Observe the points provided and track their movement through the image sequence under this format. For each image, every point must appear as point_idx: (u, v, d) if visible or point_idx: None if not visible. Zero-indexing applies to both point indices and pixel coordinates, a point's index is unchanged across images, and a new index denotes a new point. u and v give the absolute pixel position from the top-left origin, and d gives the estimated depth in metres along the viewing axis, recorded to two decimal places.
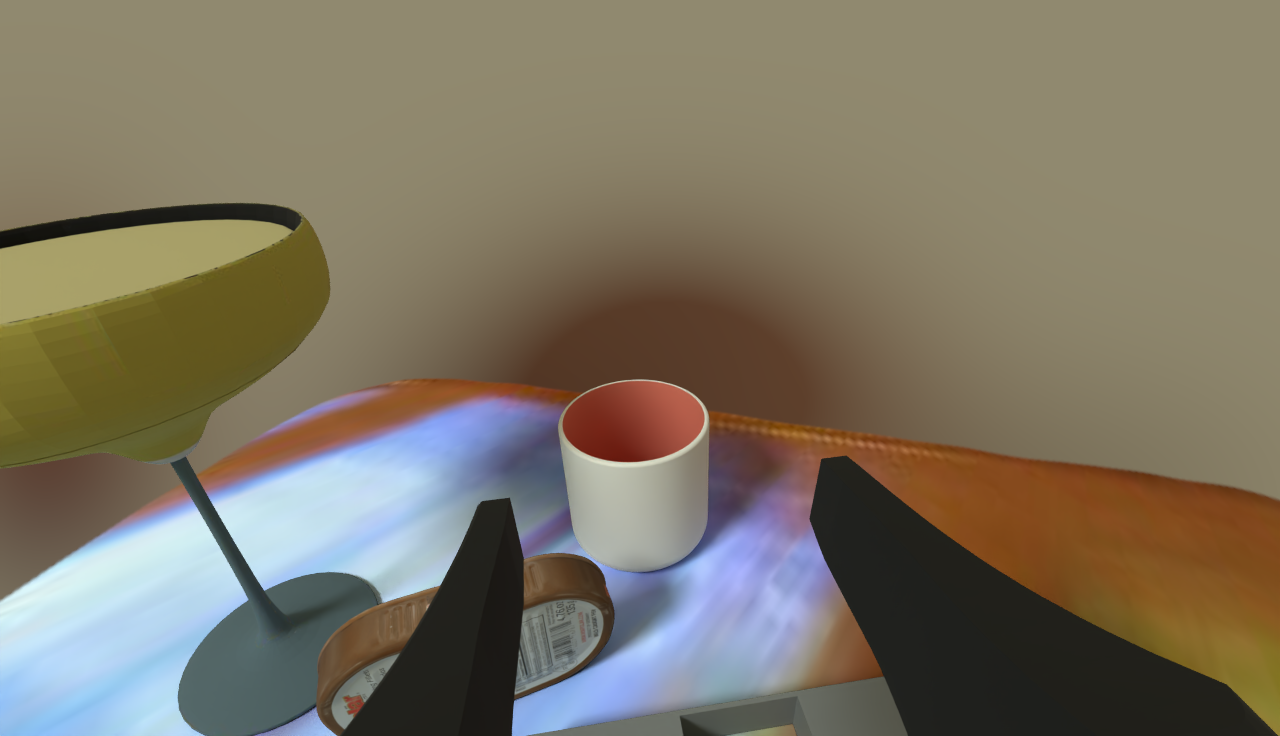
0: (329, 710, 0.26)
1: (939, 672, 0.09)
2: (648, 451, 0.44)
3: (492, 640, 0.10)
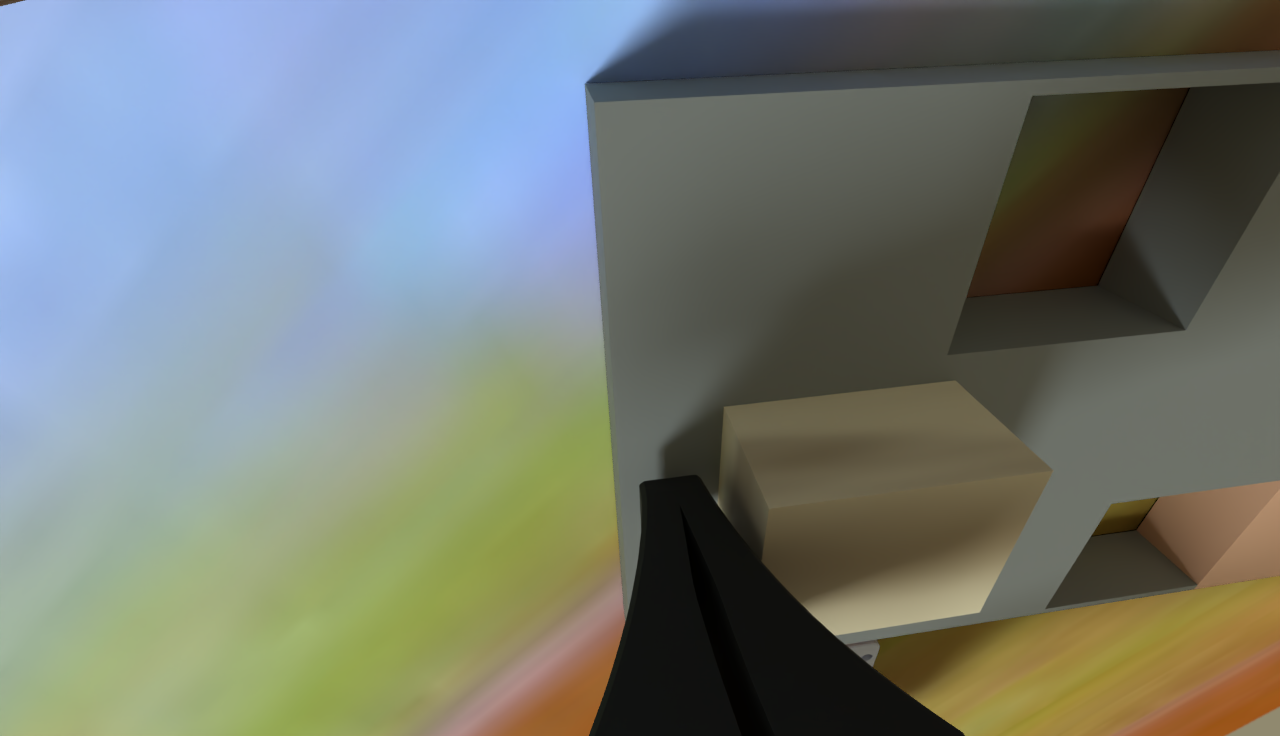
0: None
1: (734, 707, 0.09)
2: None
3: None
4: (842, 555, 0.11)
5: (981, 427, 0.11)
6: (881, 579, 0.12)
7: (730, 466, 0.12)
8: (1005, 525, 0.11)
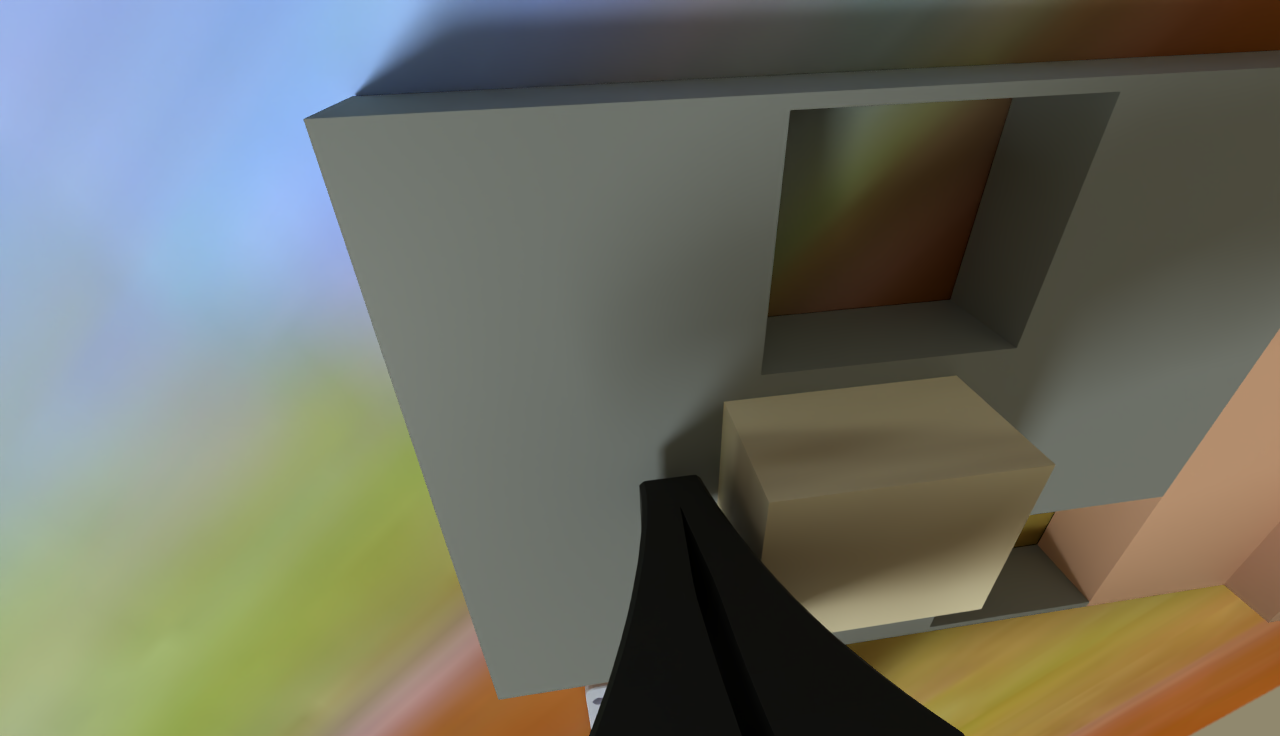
0: None
1: (734, 707, 0.09)
2: None
3: None
4: (843, 550, 0.11)
5: (982, 422, 0.11)
6: (881, 575, 0.11)
7: (730, 461, 0.12)
8: (1007, 520, 0.11)
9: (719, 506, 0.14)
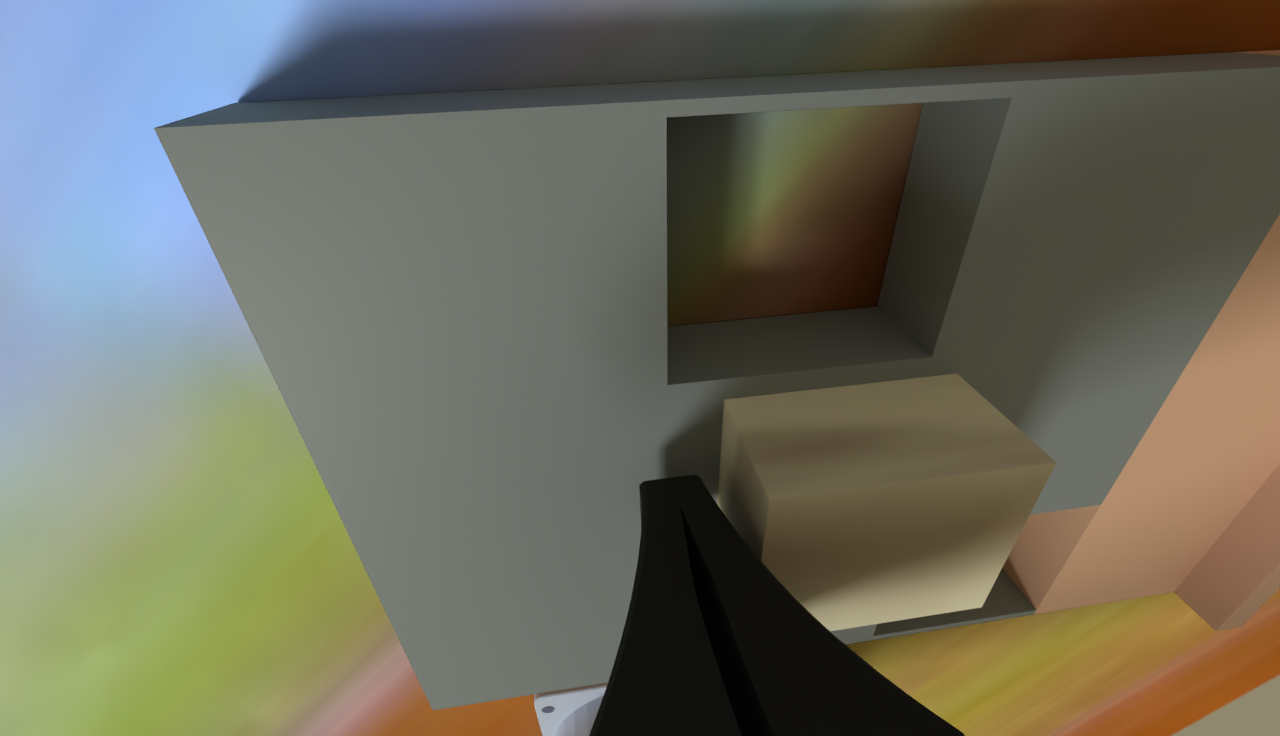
0: None
1: (734, 707, 0.09)
2: None
3: None
4: (843, 548, 0.11)
5: (983, 419, 0.11)
6: (882, 573, 0.11)
7: (730, 459, 0.12)
8: (1008, 518, 0.11)
9: (719, 504, 0.14)
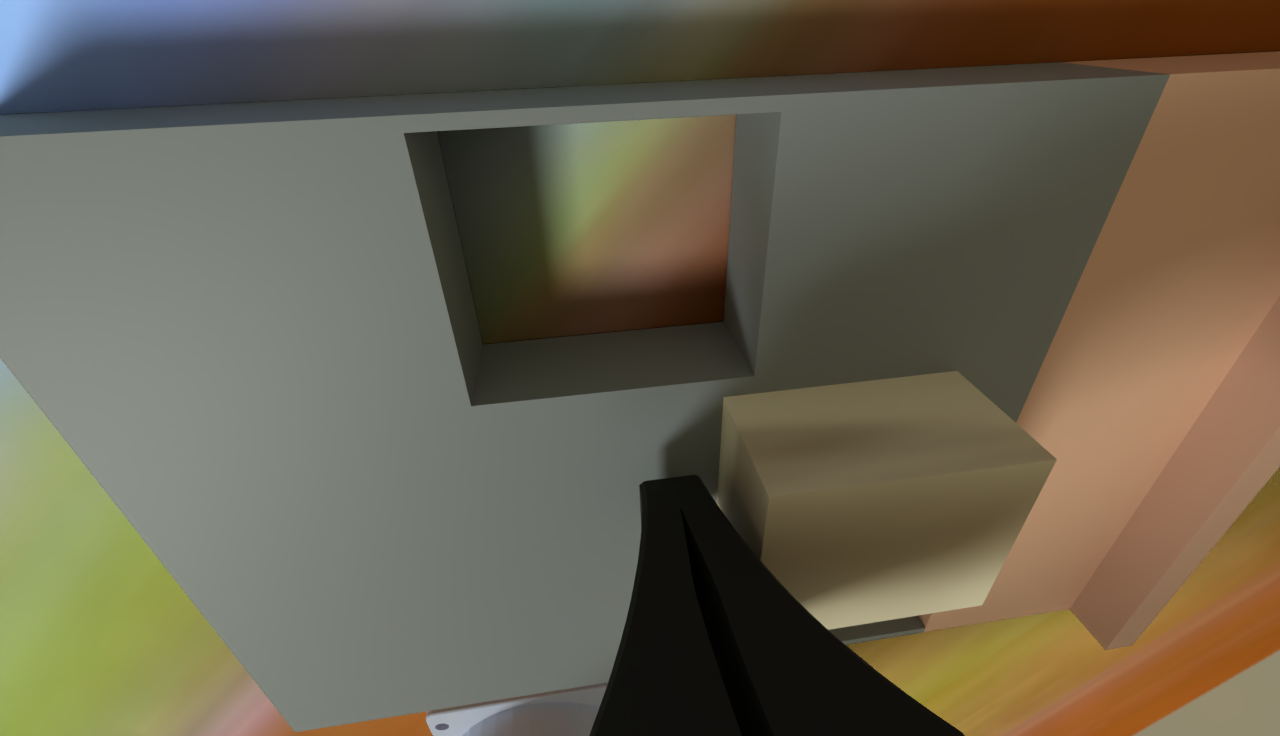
0: None
1: (734, 707, 0.09)
2: None
3: None
4: (843, 546, 0.11)
5: (983, 417, 0.11)
6: (882, 571, 0.11)
7: (730, 457, 0.12)
8: (1008, 515, 0.11)
9: (719, 503, 0.14)
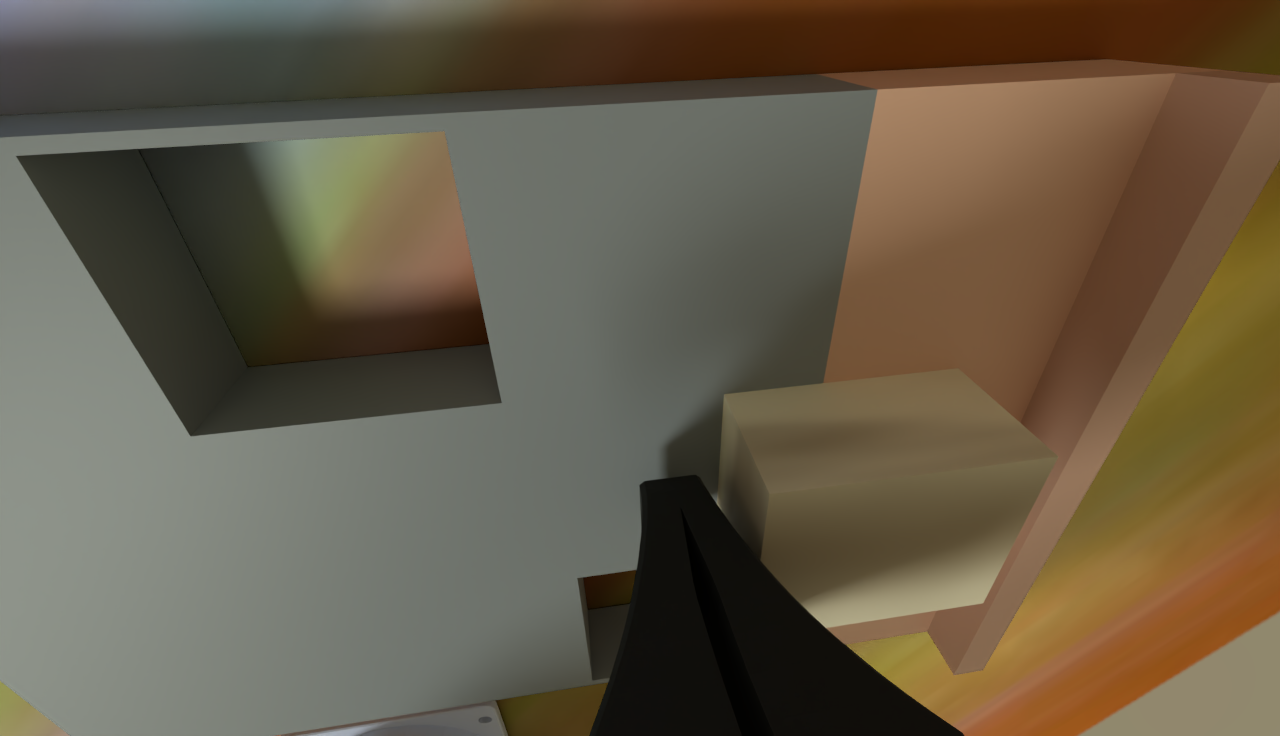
0: None
1: (734, 707, 0.09)
2: None
3: None
4: (844, 543, 0.11)
5: (985, 414, 0.11)
6: (883, 568, 0.11)
7: (730, 454, 0.12)
8: (1009, 513, 0.11)
9: (719, 500, 0.14)
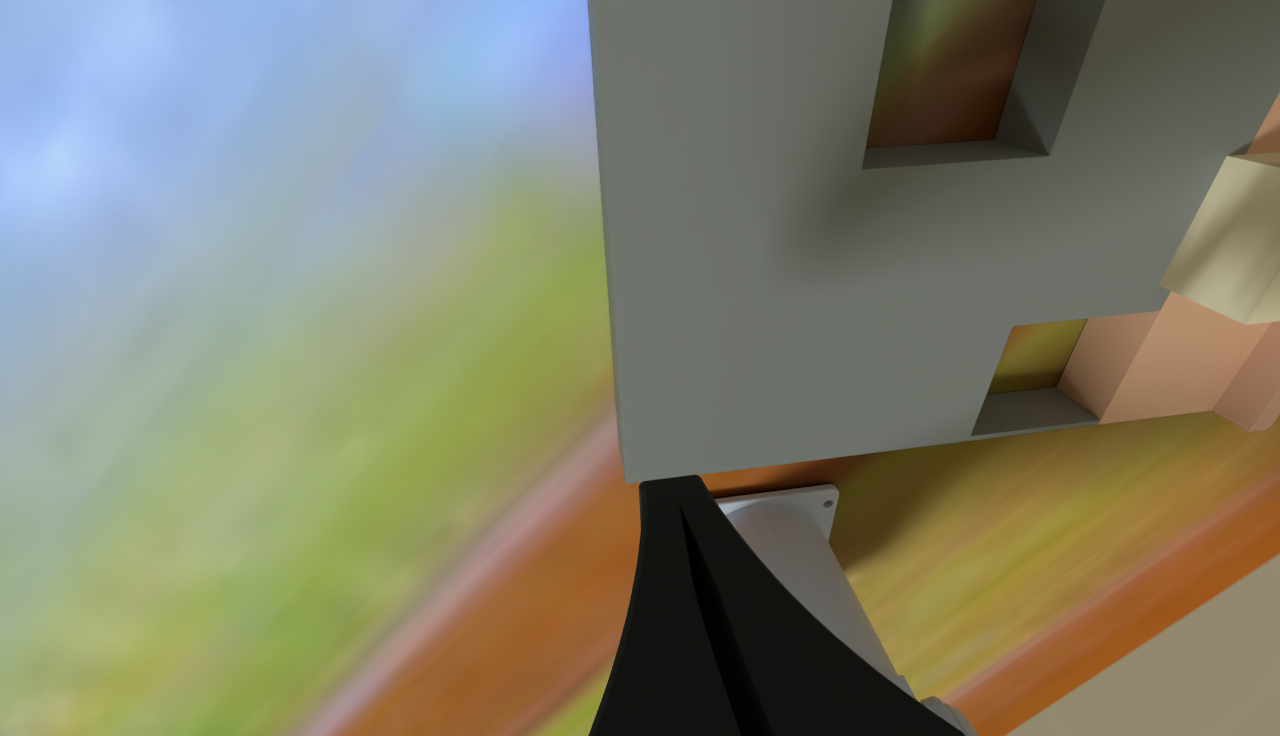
0: None
1: (734, 707, 0.09)
2: None
3: None
4: None
5: None
6: None
7: (1232, 196, 0.18)
8: None
9: (1182, 251, 0.19)
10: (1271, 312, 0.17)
